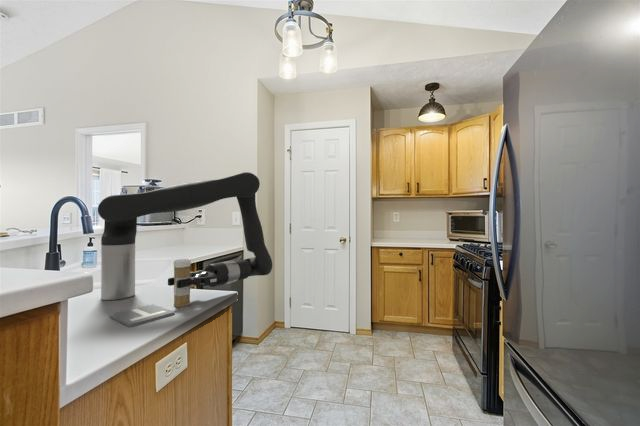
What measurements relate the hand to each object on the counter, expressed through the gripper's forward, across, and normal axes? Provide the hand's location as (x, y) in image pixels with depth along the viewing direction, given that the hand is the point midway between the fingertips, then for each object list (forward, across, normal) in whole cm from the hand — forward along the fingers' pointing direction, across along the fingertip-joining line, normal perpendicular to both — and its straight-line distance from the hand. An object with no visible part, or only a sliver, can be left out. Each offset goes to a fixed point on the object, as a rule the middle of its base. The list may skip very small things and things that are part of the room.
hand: (173, 283), depth 84 cm
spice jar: (-3, 0, +7) cm, 8 cm away
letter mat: (+8, 0, +7) cm, 11 cm away
